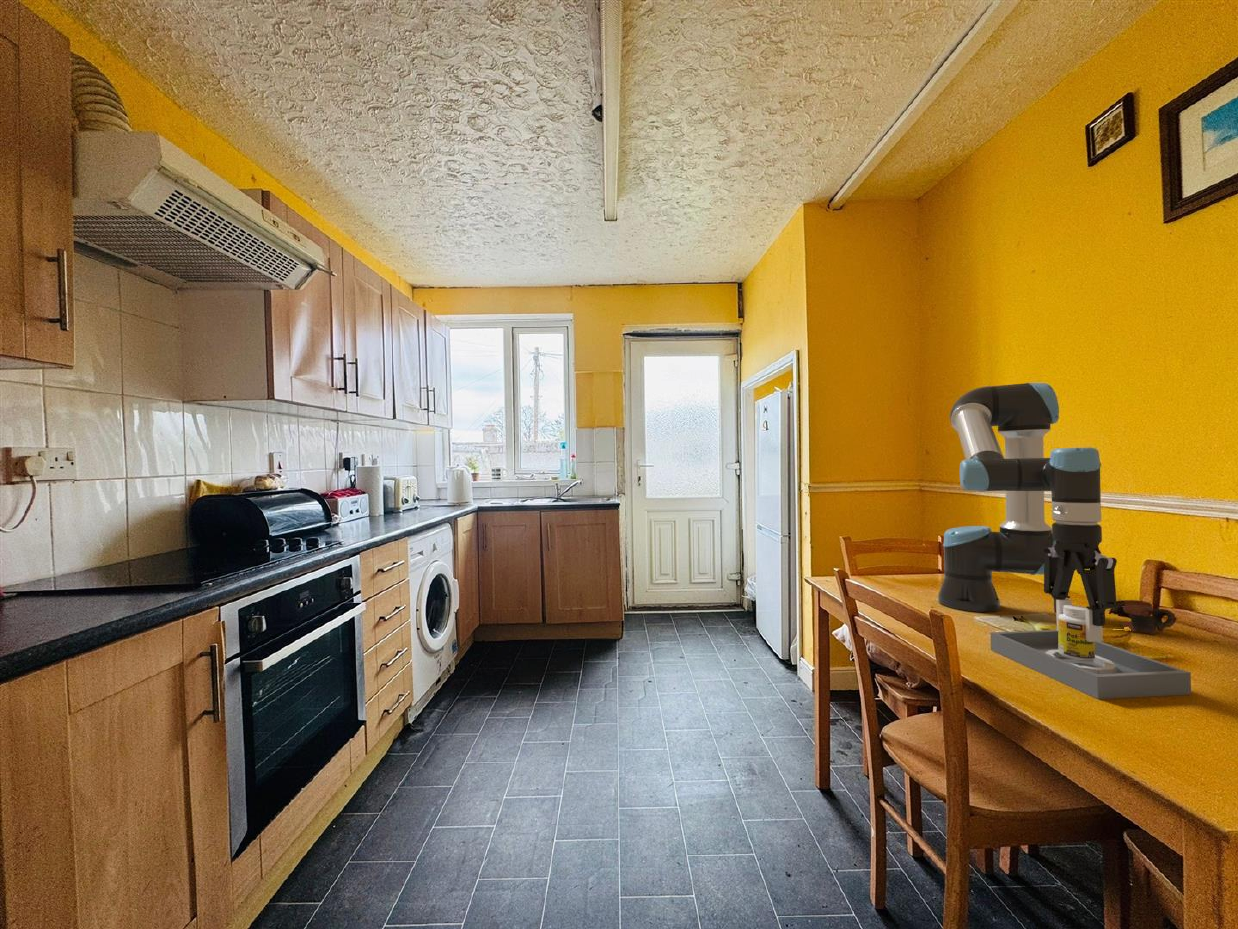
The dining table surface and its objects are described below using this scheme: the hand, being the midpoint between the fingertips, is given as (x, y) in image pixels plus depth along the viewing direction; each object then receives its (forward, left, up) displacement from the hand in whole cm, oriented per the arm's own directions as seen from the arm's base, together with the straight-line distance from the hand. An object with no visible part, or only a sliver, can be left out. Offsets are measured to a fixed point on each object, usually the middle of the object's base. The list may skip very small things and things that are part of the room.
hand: (1078, 635), depth 102 cm
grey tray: (0, 0, -7) cm, 7 cm away
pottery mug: (-21, +38, -7) cm, 44 cm away
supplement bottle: (0, -1, -5) cm, 5 cm away
